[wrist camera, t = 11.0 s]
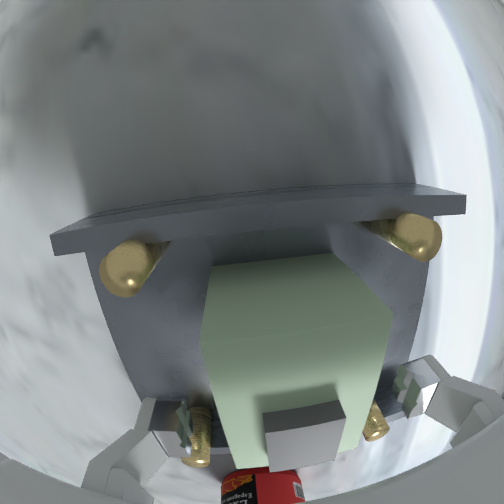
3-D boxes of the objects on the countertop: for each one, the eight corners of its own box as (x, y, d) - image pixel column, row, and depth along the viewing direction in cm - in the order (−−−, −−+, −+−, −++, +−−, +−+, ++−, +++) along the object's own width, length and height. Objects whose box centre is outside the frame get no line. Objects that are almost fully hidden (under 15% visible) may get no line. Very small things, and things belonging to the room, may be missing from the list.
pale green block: (333, 252, 11) (408, 328, 6) (326, 375, 13) (361, 461, 8) (211, 266, 11) (195, 363, 6) (233, 388, 13) (237, 484, 8)
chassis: (416, 183, 12) (487, 200, 7) (388, 377, 16) (419, 427, 11) (93, 214, 11) (29, 245, 7) (157, 408, 16) (145, 468, 11)
